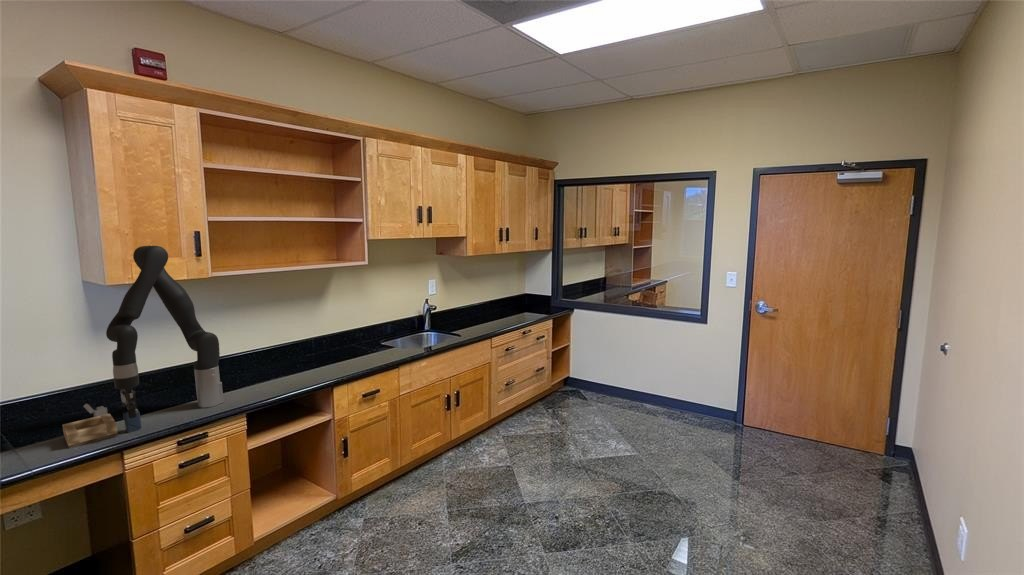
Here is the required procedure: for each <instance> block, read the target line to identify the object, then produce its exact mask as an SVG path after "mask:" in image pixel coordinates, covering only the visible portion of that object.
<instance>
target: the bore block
mask: <svg viewBox="0 0 1024 575" xmlns="http://www.w3.org/2000/svg"><path fill="white" fill-rule="evenodd" d="M61 426H62V433H63V437H64V440H65V443H66V445H67V447H68V449H71V447H72V448H75V446H76V447H79V446H83V445H86V444H90V443H95V442H97V441H98V442H99V441H102V440H105V439H109V438H113V437H115V436H116V437H118V435H119V433H118V426H117V422H116V420H115V419H114V417H113V416H112V415H111V413H108V414H106V415H101V416H97V417H94V416H93V417H90V418H89V417H88V418H85V419H81V420H77V421H72V422H67V423H64V424H62V425H61Z"/></svg>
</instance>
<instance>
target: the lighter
mask: <svg viewBox="0 0 1024 575" xmlns="http://www.w3.org/2000/svg"><path fill="white" fill-rule="evenodd" d="M82 407H83V408H84V409H85V410H86V411H87V412H88V413H89V414H90V415H91V414H93V417H97V416H101V415H106V414H109V412H108V407H106V406H105V407H104V406H103V405H100V406H97V407H96V409H93V408H92V406H91V405H90V404H88V403H85V404H84V405H82Z"/></svg>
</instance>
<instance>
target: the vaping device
mask: <svg viewBox="0 0 1024 575" xmlns="http://www.w3.org/2000/svg"><path fill="white" fill-rule="evenodd" d="M123 404H124V405H123ZM123 404H122V405H121V409H122V416H123V417H122V418H123V421H124V428H125V433H127V434H129V433H133V432H136V431H139V430H141V429H142V419H141V413H140V411H139V409H138V408H135V410H136V417H134V418H129V416H128V409H127V405H126V404H125V403H123Z"/></svg>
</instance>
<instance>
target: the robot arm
mask: <svg viewBox="0 0 1024 575" xmlns="http://www.w3.org/2000/svg"><path fill="white" fill-rule="evenodd" d="M132 256H133V261H134V263H135V265H136V266H137V267H138V268H139V269H140V272H139V274H138V276H137V278H136V279H135V281H134V282H133V284H132V285H131V286H130V287H129V288H128V290H127V291H126V293H125V295H124V296H123V298H122V301H121V303H120V306H119V309H118V312H117V313H116V314H115V316H114V317H113V318H112V319H111V321H110V322H109V324H108V325H107V327H106V332H105V335H106V338H107V339H108V340H109V341H111V342H114V343H116V349H114V350H113V351H112V352H111V353H112V354H111V358H112V360H111V361H112V366H113V367H112V374H113V376H112V377H113V384H114V388H115V389H116V390H120V400H121V403H122V405H124V403H125V404H126V405H127V409H128V416H129V418H134V417H136V410H135V409H137V406H138V405H137V399H136V398H137V397H136V391H135V390H134V389H133V388H134V387H138V386H140V376H139V368H138V363H137V356H136V350H137V345H138V337H139V336H138V330H137V329H136V328H135V327H134V326H133V325H132V324H133V322H134V321H135V320H138V319H139V318H141V315H142V313H143V310H144V307H145V305H146V302H147V301H148V300H147V299H148V297H149V295H150V293H151V291H152V290H153V289H154V290H155V292H156V294H157V295H158V297H159V299H160V300H161V301H162V304H163V306H164V307H165V308H166V310H167V312H168V313H169V314H170V316H171V317H172V318H173V320H174V322H175V323H176V325H177V326H178V327H179V329H180V330H181V333H182V335H183V337H184V339H185V341H186V344H187V345H188V347H189V349H191V350H192V351H193V352H196V356H197V357H196V360H195V361H194V362H193V370H194V371H193V373H194V380H195V390H196V391H195V392H196V398H197V400H196V401H197V407H198V408H212V407H216V406H218V405H220V404H223V403H224V402H225V401H224V392H223V383H222V381H221V378H220V377H221V376H220V369H219V367H220V366H219V360H220V354H221V353H220V341H219V338H218V336H217V335H216V334H215V333H213V332H209V331H205V329H204V328H203V327H202V326H201V324H200V323H199V320H197V317H196V312H195V311H196V310H195V305H194V303H193V301H192V299H191V298H190V295H189V293H188V292H187V290H185V288H184V287H183V286H182V285H181V284H180V283H178V282H177V281H176V279H174V278H173V277H172V276H171V275H170V274H169V273H168V271H167V270H166V268H165V267H166V265H167V263H168V261H169V254H168V251H167V250H166V249H165V247H162V246H159V245H142V246H139V247H137V248H135V249H134V251H133V254H132Z"/></svg>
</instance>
